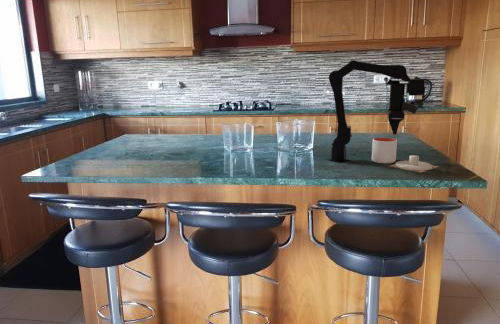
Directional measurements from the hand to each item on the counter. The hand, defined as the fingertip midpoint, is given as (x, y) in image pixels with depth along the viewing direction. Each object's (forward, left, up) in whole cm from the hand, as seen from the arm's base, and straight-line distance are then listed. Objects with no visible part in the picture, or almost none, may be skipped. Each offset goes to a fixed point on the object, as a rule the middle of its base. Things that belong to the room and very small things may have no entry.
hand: (394, 132), depth 166 cm
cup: (-2, +3, -13) cm, 14 cm away
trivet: (-2, -11, -13) cm, 17 cm away
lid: (-2, -11, -13) cm, 17 cm away
